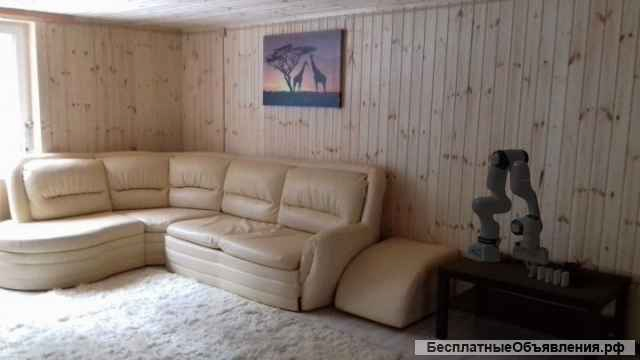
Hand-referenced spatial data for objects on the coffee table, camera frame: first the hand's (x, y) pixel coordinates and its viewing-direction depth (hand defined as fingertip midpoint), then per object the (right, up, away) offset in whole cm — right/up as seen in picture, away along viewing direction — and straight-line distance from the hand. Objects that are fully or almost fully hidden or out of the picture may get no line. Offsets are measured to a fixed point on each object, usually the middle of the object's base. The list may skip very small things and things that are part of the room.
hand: (529, 269), depth 318 cm
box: (+24, -5, +3) cm, 25 cm away
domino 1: (+1, -4, -1) cm, 4 cm away
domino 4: (+10, -6, -11) cm, 16 cm away
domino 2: (+4, -5, -5) cm, 8 cm away
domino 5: (+13, -6, -15) cm, 21 cm away
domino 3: (+7, -5, -8) cm, 12 cm away
